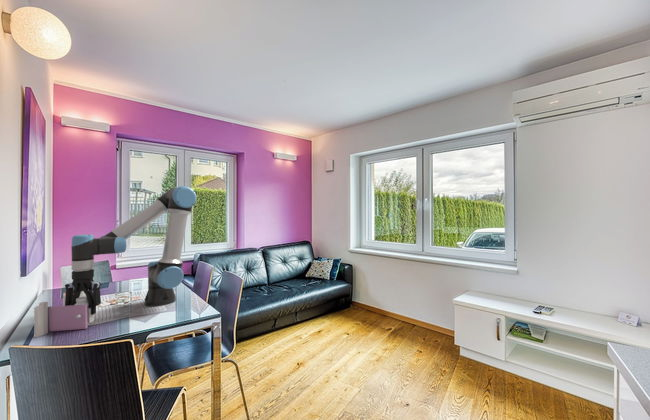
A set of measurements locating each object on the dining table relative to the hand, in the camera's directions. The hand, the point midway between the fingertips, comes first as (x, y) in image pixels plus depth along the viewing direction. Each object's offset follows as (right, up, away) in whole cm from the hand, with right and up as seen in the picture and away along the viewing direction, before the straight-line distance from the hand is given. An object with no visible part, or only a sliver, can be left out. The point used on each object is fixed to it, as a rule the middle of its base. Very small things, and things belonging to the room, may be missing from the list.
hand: (83, 321), depth 125 cm
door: (-3, -2, -5) cm, 6 cm away
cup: (-20, -3, +19) cm, 28 cm away
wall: (-10, -2, +1) cm, 10 cm away
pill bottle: (0, -1, 0) cm, 1 cm away
